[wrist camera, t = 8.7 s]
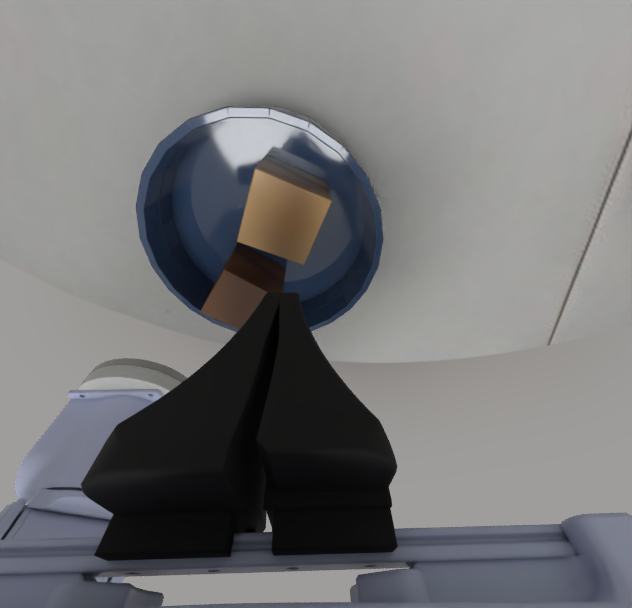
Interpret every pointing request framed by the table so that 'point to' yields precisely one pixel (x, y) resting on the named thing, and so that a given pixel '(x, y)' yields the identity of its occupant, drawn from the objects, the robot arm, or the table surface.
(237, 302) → the walnut block
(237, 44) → the table surface
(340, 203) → the bowl
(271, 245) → the beech block
